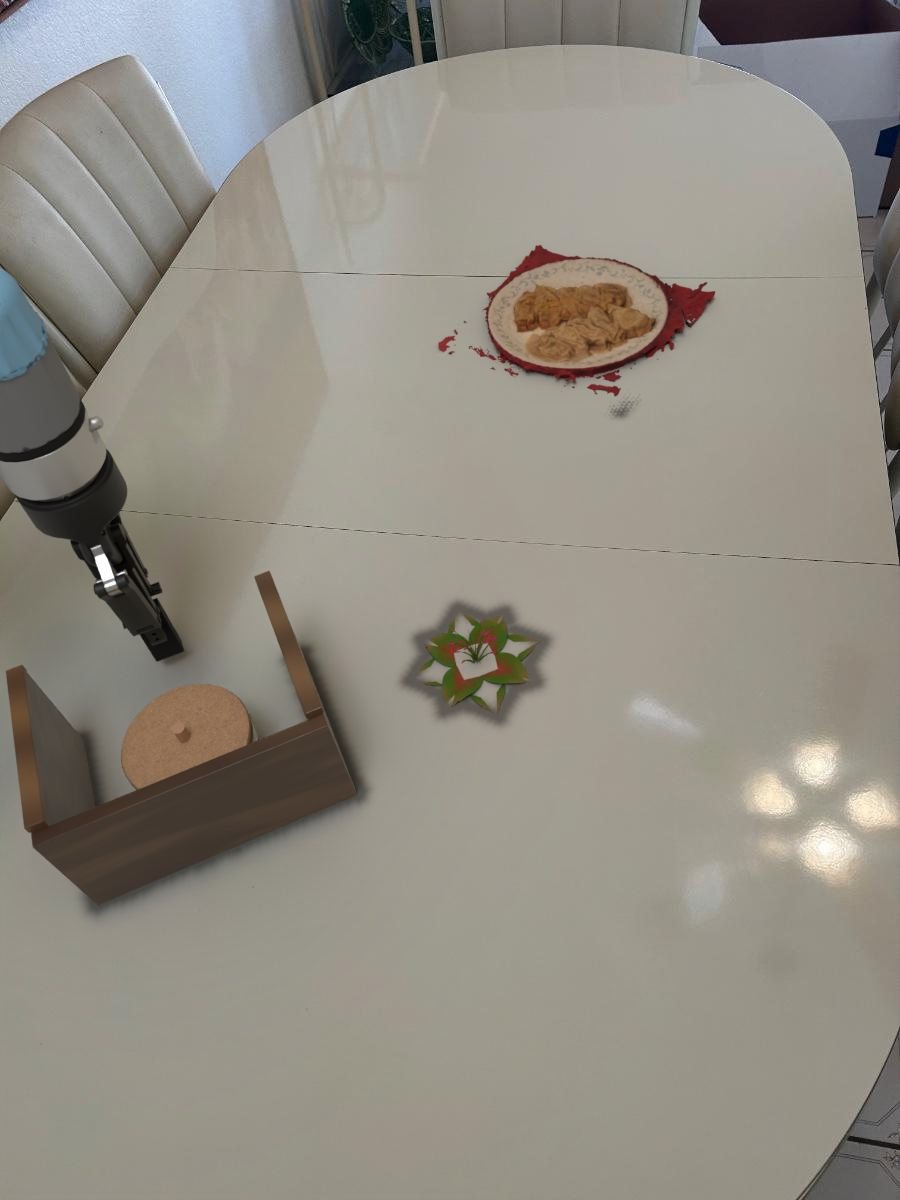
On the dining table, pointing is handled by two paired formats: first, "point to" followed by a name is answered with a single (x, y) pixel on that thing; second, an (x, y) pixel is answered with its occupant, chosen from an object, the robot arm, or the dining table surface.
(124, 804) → the shelf cubby
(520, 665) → the lily flower
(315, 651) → the dining table surface
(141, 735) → the trinket box
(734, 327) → the dining table surface
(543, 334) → the plate with food
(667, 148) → the dining table surface
